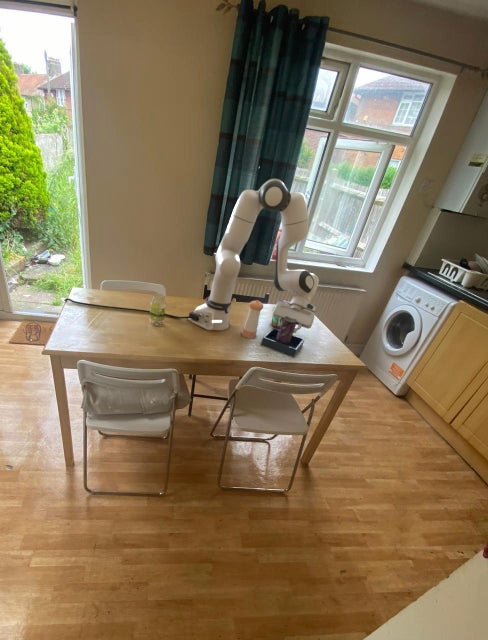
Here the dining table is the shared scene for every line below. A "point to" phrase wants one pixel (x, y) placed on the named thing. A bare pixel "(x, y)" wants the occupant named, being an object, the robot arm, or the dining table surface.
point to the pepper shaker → (252, 319)
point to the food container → (275, 321)
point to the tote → (285, 348)
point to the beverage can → (286, 330)
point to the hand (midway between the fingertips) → (286, 329)
